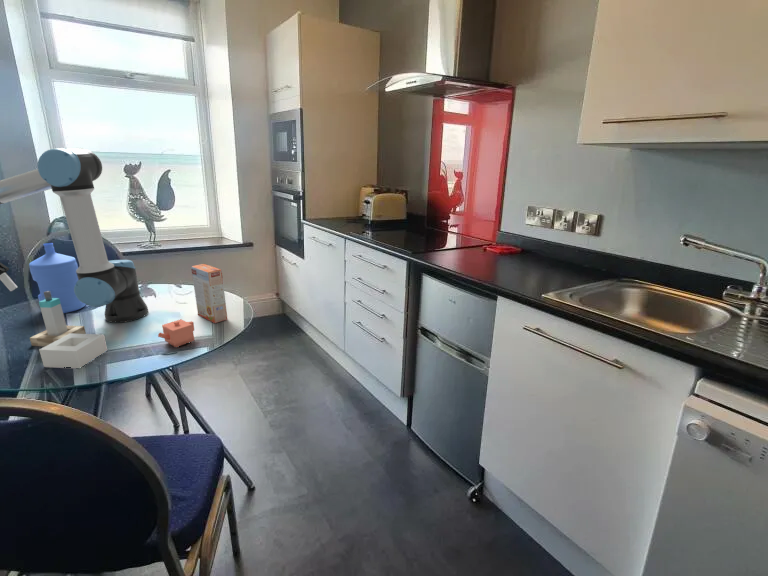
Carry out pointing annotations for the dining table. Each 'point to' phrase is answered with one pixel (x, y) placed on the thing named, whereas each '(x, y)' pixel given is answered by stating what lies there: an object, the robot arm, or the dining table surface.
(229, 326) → the dining table surface
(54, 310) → the plug
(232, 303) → the dining table surface
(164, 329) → the pink cube teapot
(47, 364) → the socket block
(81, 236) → the robot arm
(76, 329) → the beige flat square frame
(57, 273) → the water jug
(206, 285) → the cracker box
